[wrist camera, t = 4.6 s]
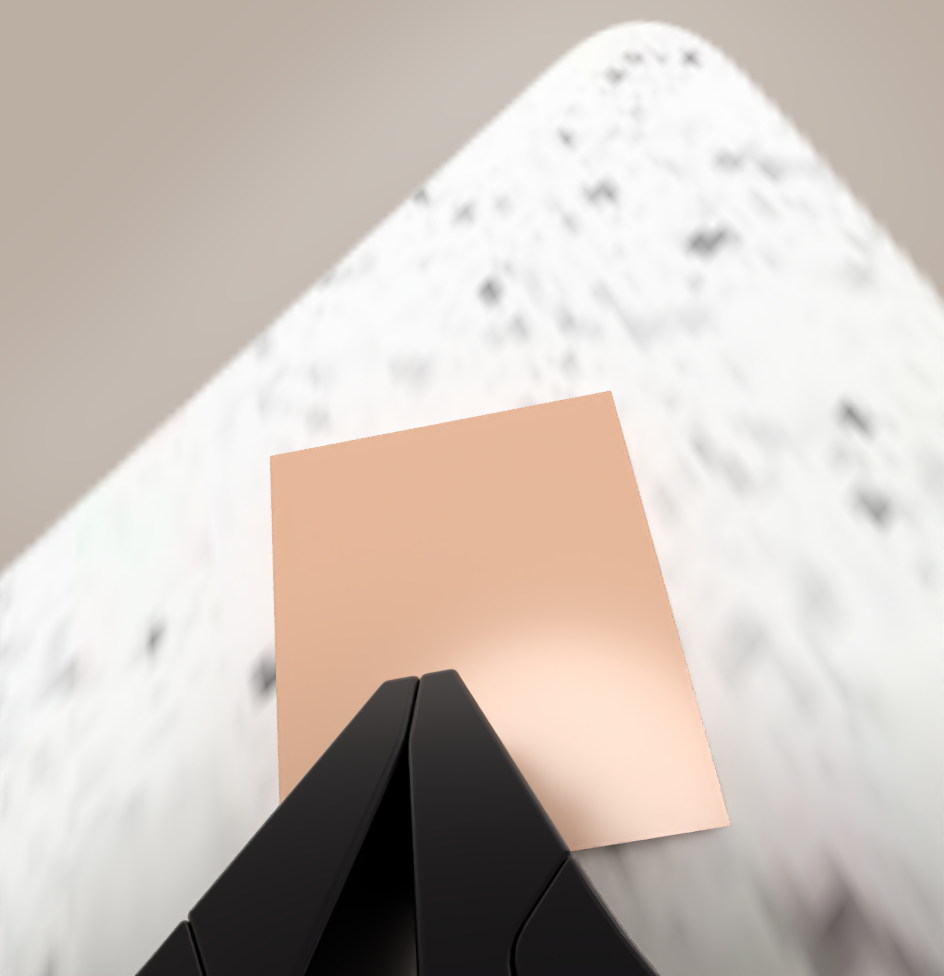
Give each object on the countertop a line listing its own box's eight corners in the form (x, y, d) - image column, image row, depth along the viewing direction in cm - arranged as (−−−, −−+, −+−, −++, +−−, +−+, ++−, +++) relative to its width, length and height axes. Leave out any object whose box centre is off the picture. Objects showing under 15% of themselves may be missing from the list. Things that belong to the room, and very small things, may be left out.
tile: (731, 825, 12) (611, 391, 16) (282, 897, 12) (270, 456, 16) (709, 823, 14) (606, 433, 18) (317, 886, 14) (299, 491, 18)
